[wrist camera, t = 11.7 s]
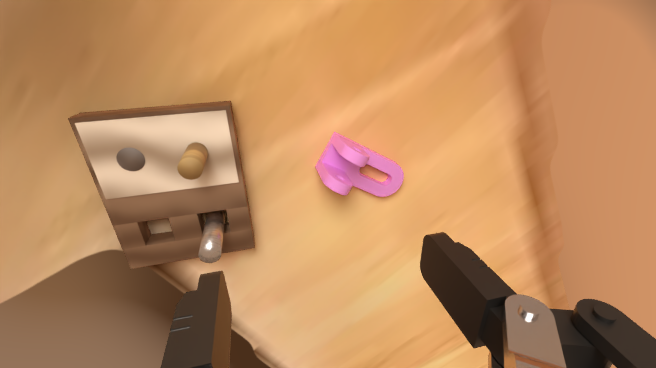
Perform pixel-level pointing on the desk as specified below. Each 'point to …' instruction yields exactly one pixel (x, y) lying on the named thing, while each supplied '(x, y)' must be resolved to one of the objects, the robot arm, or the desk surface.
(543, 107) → the desk surface
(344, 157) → the bracket
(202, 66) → the desk surface
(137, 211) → the pin board
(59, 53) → the desk surface
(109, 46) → the desk surface
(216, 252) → the grey metal pin
